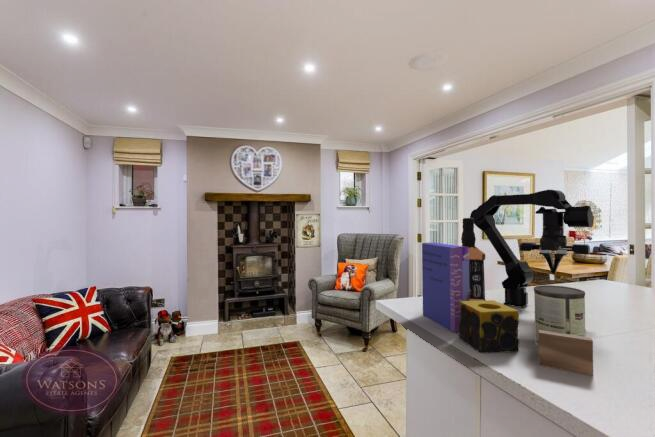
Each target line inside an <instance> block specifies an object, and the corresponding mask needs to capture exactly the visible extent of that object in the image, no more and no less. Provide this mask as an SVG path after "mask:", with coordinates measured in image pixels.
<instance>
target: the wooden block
mask: <svg viewBox="0 0 655 437" xmlns="http://www.w3.org/2000/svg"><path fill="white" fill-rule="evenodd" d="M537 346H538V350H537V351H538V364H539V366H542V367H546V368H552V369H558V370H561V371H567V372H572V373H573V372H574V373H576V374H577V373H578V374H582V375H588V376H594V340H593V339H592V337H591V336H590V337H588V336H585V337H584V336H577V335H570V334H563V333H556V332H550V331H543V330H539V337H538V345H537Z"/></svg>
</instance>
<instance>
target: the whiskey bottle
mask: <svg viewBox="0 0 655 437" xmlns="http://www.w3.org/2000/svg"><path fill="white" fill-rule="evenodd" d="M461 223H462V233H461V239H460V240H461V246H464V247H469V295H470V301H487V299H486V293H485V292H486V287H485V284H486V283H485V262H484V261H485V260H486V253H485V252H483V251H482V250H481V249H479V248H478V247H477V246H476V241H477V240H476V239H477V238H476V234H475V230H474V229H475V224H474V219H473V218H470V217H463V218H462V222H461Z"/></svg>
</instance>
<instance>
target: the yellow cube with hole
mask: <svg viewBox="0 0 655 437" xmlns="http://www.w3.org/2000/svg"><path fill="white" fill-rule="evenodd" d="M459 305H460V313H461V318H460V323H459V333H458V338H459V339H460V340H462V341H463V342H464V343H466V344H467V345H469V347H471V348H472V349H474V350H475V351H476V352H478V353H480V354H489V353H490V354H492V353H509V352H515V353H516V352H519V351H520V349H519V344H520V341H519V340H520V339H519V325H520V324H519V323H520V322H519V321H520V316H519V310H517V309H515V308H513V307H512V306H509V305H504V304H503V303H500V302H499V301H496V300H494V299H493V300H491V299H490V300H486V301H460V303H459Z"/></svg>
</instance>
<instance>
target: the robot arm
mask: <svg viewBox="0 0 655 437" xmlns="http://www.w3.org/2000/svg"><path fill="white" fill-rule="evenodd" d="M515 205H516V206H518V205H523V206H524V205H525V206H526V205H534V206H539V207H540V206H541V207H540V208H538V209H537V211H535V214H538V215H541V214H542V235H541V237H540V239H539V244H537V242H531V241H524V242H523V241H522V242H521V243H520V244H519V251H521V252H531V251H534V250H538V251H539V252H538V254H539V255H542V256H543V258H544V259H545V260H546V262H547V264H548V267H549V270H550V272H551V274H553V275H555V274H557V271H558V268H559V265H560V263H561V261H562V259H563V258H564V257H565V256H568V255H569V252H573V253H574V254H576V255H590V253H591V247H590V244H587V243H586V244H585V243H573V244H572V245H567V244H568V240H567V235H564V233H565V230H564V228H565V227H564V226H565V225H567V227H568V228H592V227H593V226H594V222H595V221H594V220H595V218H594V217H595V216H594V214H593V211H592V206H591V205H582V206H573V205H572V204H570V202H569V201H568V200H567V199H566V195H565V193H564V192H563V191H561V190H557V189H546V190H545V189H544V190H540V191H536V192H533V193H532V192H531V193H523V194H506V195H502V194H501V195H497V194H496V195H495V194H494V195H491V196H490V197H489V198H488V199H486V201H485V202H483V203H482V204H480V205H478V206H477V208H475V209H473V210H472V211H471V213H470V215H469V218H473V219H474V226H475V227H477V228H478V229H480V230H481V231H482V232H483V233H484V235H485V236H486V238H487V239H488V240H489V242H490V243H491V245H492V246H493V248H494V250H495V251H496V253H497V254H498V257H500V259H501V260H502V263H503V264H504V267H505V268H504V269H505V274H506V275H507V278H505V279H503V281H501V286H502V288H503V289H504V302H503V303H502V304H504V305H506V306H509V307H518V308H525V307H526V306H527V305H528V304H529V293H528V292H527V288H528V285H529V284H530V283H532V282H533V281H534V280H533V279H534V276H535V275H534V274H533V272H534V270H533V269H532V268H531V267H530V265H529V263H528V261H526V260H524V261H521V260H519V259H518V257H517V256H516V255H515V253H514V252H513V251H512V248H510V246H509V244H508V243H507V241H506V240H505V238H504V237H503V236H502V234H501V233H500V231H499V230H498V228H497V226H496V219H495V218H494V216H495V215H496V214H497V212H498V210H499V209H500V207H501V206H515ZM546 207H547V208H546ZM558 210H564V211H558ZM564 224H565V225H564ZM552 251H553V252H555V253H554V254H553V252H552Z"/></svg>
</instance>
